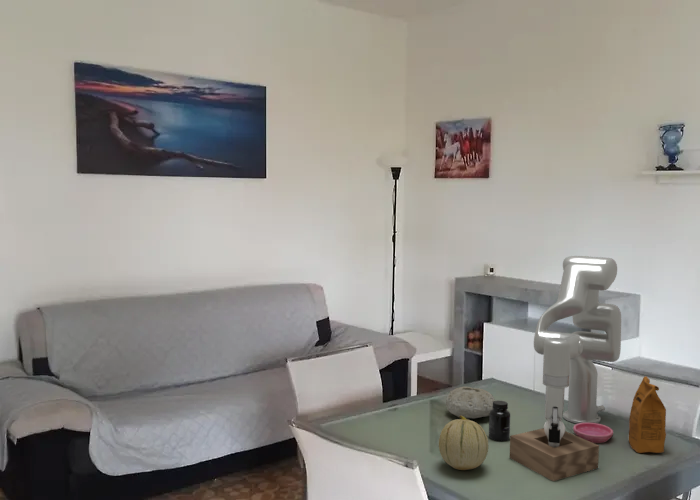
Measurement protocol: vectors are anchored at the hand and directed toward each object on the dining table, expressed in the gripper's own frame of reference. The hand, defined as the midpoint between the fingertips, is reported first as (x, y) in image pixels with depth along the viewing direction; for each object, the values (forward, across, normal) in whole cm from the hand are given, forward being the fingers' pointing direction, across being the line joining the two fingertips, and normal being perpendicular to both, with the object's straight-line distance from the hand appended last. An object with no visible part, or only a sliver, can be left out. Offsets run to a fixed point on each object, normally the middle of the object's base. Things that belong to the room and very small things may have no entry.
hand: (554, 437), depth 197 cm
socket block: (+8, 0, 0) cm, 8 cm away
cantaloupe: (+8, +12, -26) cm, 29 cm away
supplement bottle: (+8, -15, -17) cm, 24 cm away
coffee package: (+8, -21, +28) cm, 36 cm away
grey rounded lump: (+8, -34, -28) cm, 45 cm away
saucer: (+8, -25, +13) cm, 29 cm away
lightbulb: (+5, 0, 0) cm, 5 cm away
